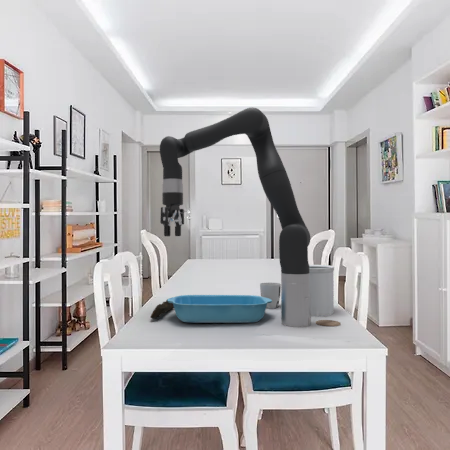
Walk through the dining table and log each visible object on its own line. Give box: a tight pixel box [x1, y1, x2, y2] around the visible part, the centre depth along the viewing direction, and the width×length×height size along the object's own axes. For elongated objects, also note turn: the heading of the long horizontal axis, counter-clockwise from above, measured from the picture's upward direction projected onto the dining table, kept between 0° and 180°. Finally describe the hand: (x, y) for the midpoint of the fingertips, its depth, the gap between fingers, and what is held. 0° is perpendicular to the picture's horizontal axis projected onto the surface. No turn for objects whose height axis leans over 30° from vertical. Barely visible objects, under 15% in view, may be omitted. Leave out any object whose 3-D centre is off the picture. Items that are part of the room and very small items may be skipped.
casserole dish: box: [166, 294, 272, 324], centre depth 149 cm, size 37×22×7 cm, turn 93°
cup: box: [259, 282, 281, 309], centre depth 164 cm, size 8×8×10 cm
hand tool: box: [150, 298, 174, 319], centre depth 153 cm, size 19×4×5 cm, turn 170°
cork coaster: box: [315, 319, 341, 327], centre depth 139 cm, size 8×8×1 cm
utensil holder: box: [309, 264, 335, 317], centre depth 156 cm, size 15×15×18 cm
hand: (172, 236), depth 154 cm, fingers open, 8 cm apart
